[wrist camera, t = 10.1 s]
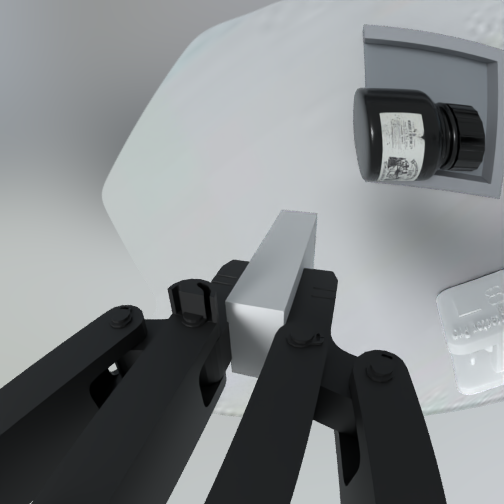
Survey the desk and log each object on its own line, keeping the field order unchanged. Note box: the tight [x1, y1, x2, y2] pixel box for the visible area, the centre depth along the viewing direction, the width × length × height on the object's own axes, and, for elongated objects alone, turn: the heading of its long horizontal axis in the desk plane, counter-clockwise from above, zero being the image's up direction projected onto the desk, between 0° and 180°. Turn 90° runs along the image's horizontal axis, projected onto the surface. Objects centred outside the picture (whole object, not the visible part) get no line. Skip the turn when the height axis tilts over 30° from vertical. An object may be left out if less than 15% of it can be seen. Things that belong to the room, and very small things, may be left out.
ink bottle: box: [353, 88, 485, 181], centre depth 26 cm, size 10×9×12 cm
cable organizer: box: [436, 269, 504, 395], centre depth 31 cm, size 15×11×12 cm
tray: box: [363, 24, 504, 199], centre depth 26 cm, size 16×16×4 cm
